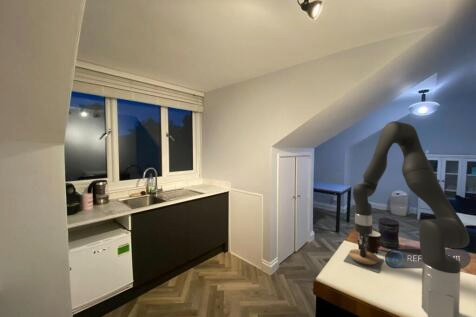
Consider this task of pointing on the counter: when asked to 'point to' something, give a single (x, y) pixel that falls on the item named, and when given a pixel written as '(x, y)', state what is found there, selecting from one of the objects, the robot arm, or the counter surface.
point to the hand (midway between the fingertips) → (363, 255)
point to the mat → (370, 267)
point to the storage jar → (388, 233)
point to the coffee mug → (373, 242)
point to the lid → (368, 259)
